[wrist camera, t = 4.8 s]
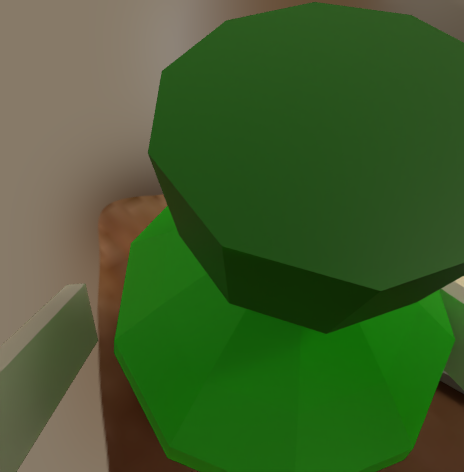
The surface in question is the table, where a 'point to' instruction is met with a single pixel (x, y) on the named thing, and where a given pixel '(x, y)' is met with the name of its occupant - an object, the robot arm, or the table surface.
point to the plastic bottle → (299, 242)
